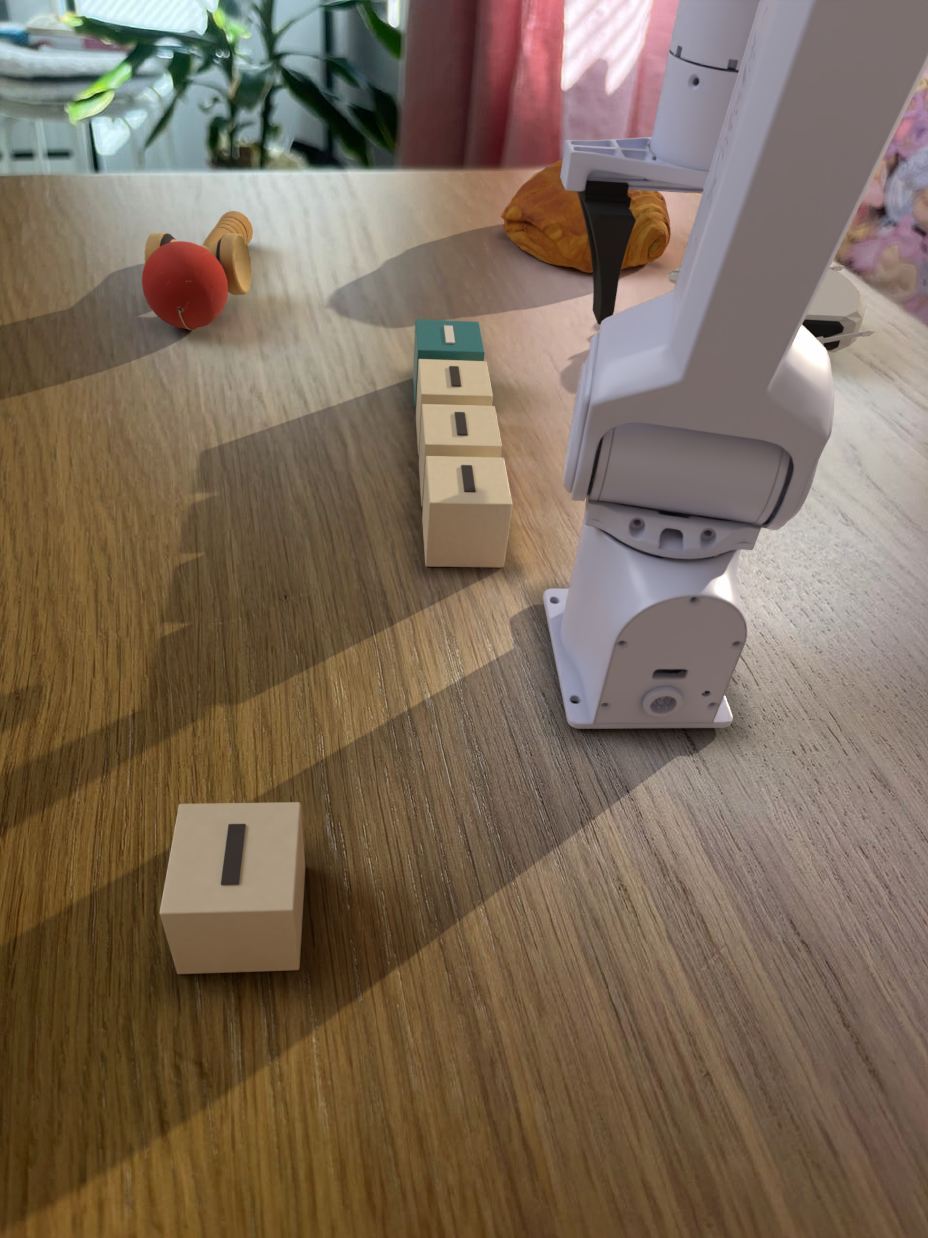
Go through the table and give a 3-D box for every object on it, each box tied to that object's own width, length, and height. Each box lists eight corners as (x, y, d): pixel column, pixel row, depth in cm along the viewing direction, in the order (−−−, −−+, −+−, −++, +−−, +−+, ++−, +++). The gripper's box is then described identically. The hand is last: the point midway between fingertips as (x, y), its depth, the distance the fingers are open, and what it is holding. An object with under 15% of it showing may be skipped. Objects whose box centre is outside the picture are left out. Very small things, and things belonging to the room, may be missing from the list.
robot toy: (667, 368, 72) (866, 379, 71) (676, 312, 69) (884, 323, 68) (660, 300, 81) (837, 309, 80) (668, 248, 78) (852, 257, 77)
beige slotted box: (299, 971, 34) (293, 908, 31) (176, 975, 34) (158, 912, 31) (305, 865, 37) (300, 799, 34) (193, 868, 37) (178, 801, 34)
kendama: (184, 257, 81) (113, 322, 66) (191, 181, 77) (118, 232, 63) (272, 282, 82) (221, 352, 67) (283, 207, 78) (232, 264, 64)
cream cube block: (486, 456, 60) (493, 394, 57) (418, 455, 59) (421, 392, 56) (480, 420, 63) (486, 359, 60) (415, 418, 62) (418, 357, 59)
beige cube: (503, 568, 52) (513, 502, 49) (425, 567, 51) (429, 501, 48) (496, 519, 55) (504, 455, 52) (422, 518, 54) (425, 453, 51)
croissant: (581, 227, 95) (588, 140, 91) (694, 262, 85) (708, 167, 81) (467, 246, 88) (469, 154, 84) (575, 287, 78) (584, 185, 74)
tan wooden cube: (494, 508, 56) (502, 444, 53) (421, 507, 55) (425, 442, 52) (487, 466, 59) (495, 404, 56) (418, 465, 58) (421, 401, 55)
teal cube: (478, 411, 64) (485, 350, 61) (414, 409, 63) (417, 348, 60) (473, 378, 67) (479, 319, 64) (412, 376, 66) (415, 317, 63)
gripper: (838, 47, 49) (762, 295, 58) (569, 27, 48) (535, 285, 57) (892, 84, 44) (799, 348, 53) (592, 63, 42) (551, 339, 52)
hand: (664, 319), depth 55 cm, fingers open, 7 cm apart
